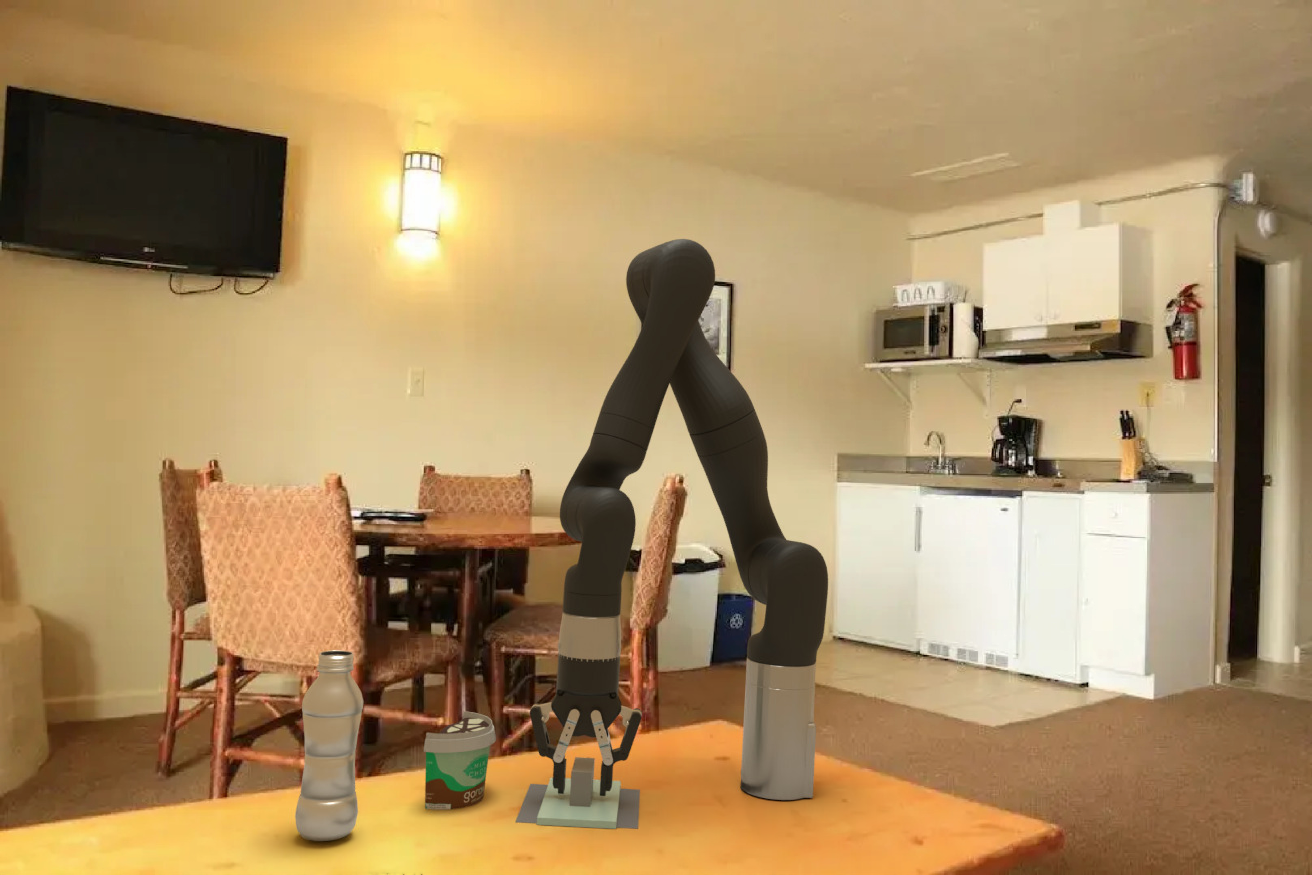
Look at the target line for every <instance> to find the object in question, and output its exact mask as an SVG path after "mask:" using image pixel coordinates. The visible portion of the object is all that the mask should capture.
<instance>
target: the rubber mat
mask: <svg viewBox="0 0 1312 875" xmlns="http://www.w3.org/2000/svg"><path fill="white" fill-rule="evenodd" d="M547 787H548V784H544V783H543V784H542V783H541V784H540V783H530V784H529V786H528V789H527V792H526V793H525V797H524V799H523V801H522V804H521V806H520V809H519V812H518V814H517V817H516V819H515V823H517V824H518V823H519V824H520V823H521V824H536V825H537V817H538V814H539V811H540V808H541V805H542V802H543V799H544V796H545V793H546V790H547ZM640 794H641V790H640V789H637V788H636V789H635V788H633V789H631V788H620V797H619V806H618V815H617V824H616V829H617V828H618V829H633V830H634V829H635V830H638V829H639V818H640V800H641V799H640V796H641V795H640Z"/></svg>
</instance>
